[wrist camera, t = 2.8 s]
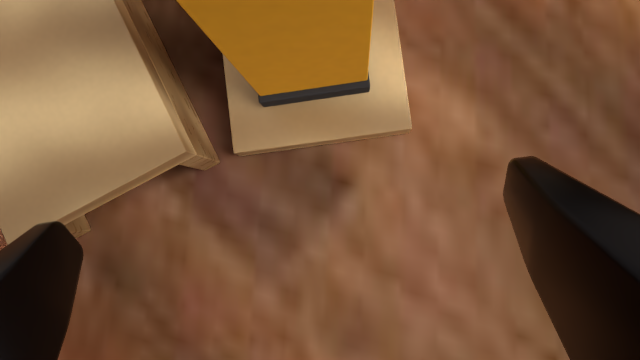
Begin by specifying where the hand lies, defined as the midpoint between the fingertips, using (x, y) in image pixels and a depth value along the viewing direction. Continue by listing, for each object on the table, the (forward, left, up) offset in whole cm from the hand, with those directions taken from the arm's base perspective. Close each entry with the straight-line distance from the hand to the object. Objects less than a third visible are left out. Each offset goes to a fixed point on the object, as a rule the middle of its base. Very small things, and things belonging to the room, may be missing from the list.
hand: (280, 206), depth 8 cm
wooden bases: (+9, -4, -13) cm, 17 cm away
